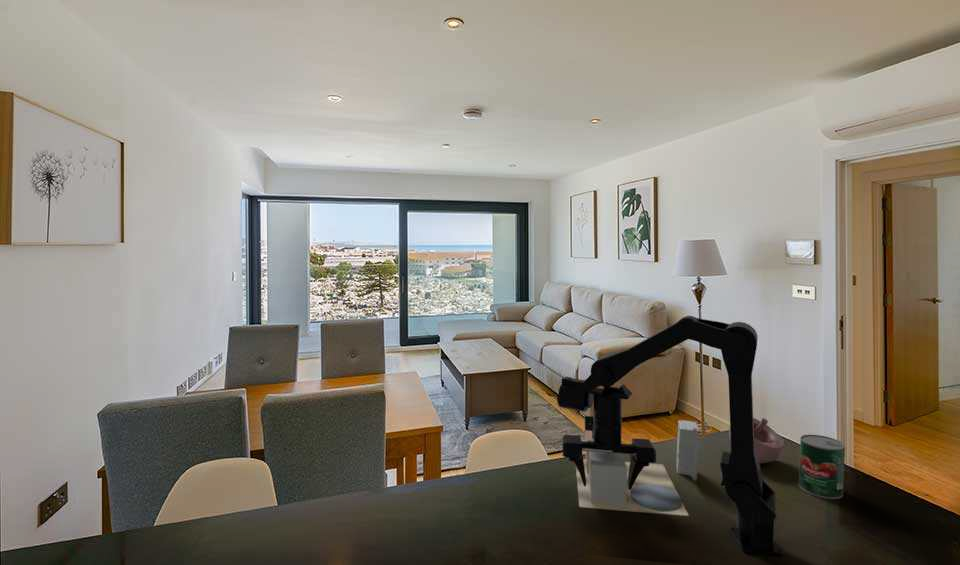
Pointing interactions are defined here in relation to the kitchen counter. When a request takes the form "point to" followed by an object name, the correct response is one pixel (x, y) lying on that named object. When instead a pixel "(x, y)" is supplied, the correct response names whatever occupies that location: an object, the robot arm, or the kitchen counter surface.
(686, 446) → the skincare box
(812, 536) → the kitchen counter surface
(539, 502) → the kitchen counter surface
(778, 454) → the mortar and pestle
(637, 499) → the oak board
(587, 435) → the pink sandstone cube
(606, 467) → the pale slate cube
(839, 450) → the canned tomato
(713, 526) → the kitchen counter surface
